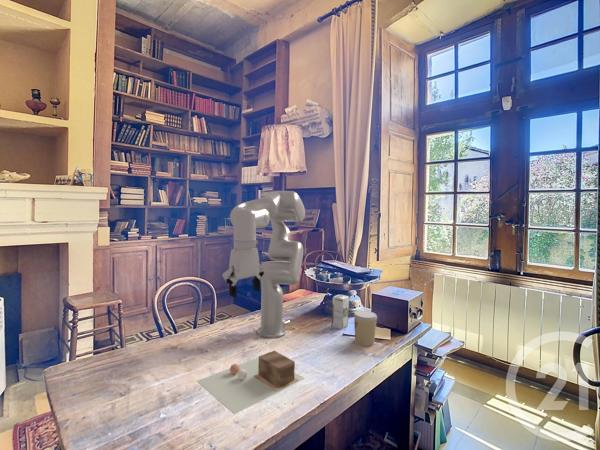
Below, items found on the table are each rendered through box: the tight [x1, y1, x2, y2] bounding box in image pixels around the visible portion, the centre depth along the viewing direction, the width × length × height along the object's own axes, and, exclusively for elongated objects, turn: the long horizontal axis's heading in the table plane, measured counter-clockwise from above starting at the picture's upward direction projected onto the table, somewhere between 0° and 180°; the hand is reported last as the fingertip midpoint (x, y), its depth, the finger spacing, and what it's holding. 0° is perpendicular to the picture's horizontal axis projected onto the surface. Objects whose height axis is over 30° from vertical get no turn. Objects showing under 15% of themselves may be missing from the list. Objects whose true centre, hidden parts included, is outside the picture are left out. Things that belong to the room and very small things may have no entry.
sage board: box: [196, 357, 306, 415], centre depth 99 cm, size 26×21×1 cm
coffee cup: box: [353, 310, 378, 347], centre depth 131 cm, size 9×9×12 cm
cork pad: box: [254, 374, 298, 391], centre depth 99 cm, size 9×11×1 cm
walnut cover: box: [258, 350, 296, 388], centre depth 99 cm, size 10×6×6 cm, turn 44°
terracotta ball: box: [229, 363, 239, 374], centre depth 102 cm, size 3×3×3 cm
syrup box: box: [330, 294, 350, 330], centre depth 148 cm, size 6×6×14 cm
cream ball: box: [237, 369, 247, 380], centre depth 99 cm, size 3×3×3 cm
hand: (245, 293), depth 110 cm, fingers open, 9 cm apart
